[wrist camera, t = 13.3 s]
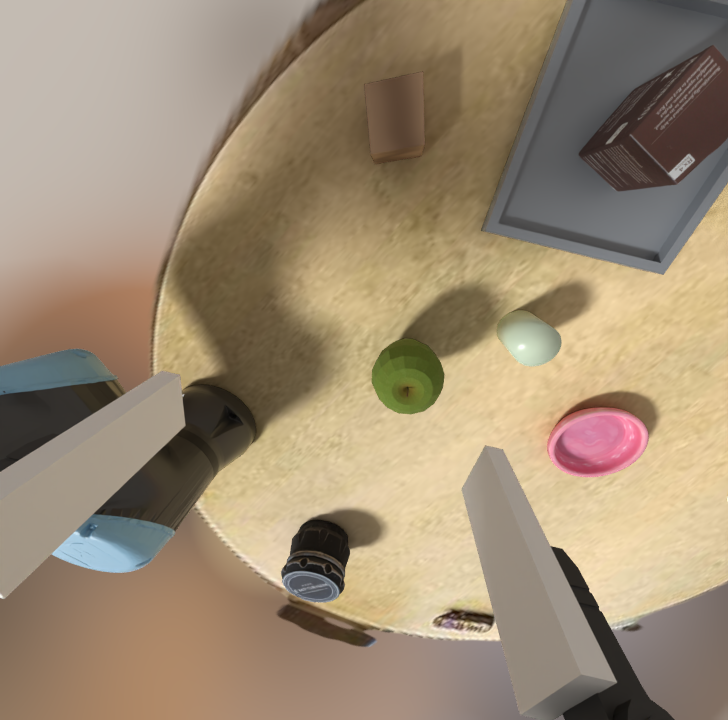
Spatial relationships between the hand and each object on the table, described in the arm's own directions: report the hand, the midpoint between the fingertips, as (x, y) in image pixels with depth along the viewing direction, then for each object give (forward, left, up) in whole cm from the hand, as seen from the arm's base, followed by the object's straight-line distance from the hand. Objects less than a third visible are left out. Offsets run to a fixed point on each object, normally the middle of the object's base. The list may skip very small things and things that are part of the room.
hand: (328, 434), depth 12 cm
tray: (+20, +20, -28) cm, 39 cm away
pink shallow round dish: (+36, -13, -28) cm, 48 cm away
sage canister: (+19, 0, -28) cm, 34 cm away
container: (+1, -55, -28) cm, 62 cm away
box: (+20, +20, -27) cm, 39 cm away
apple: (+6, -7, -28) cm, 29 cm away
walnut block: (-2, +17, -28) cm, 32 cm away
